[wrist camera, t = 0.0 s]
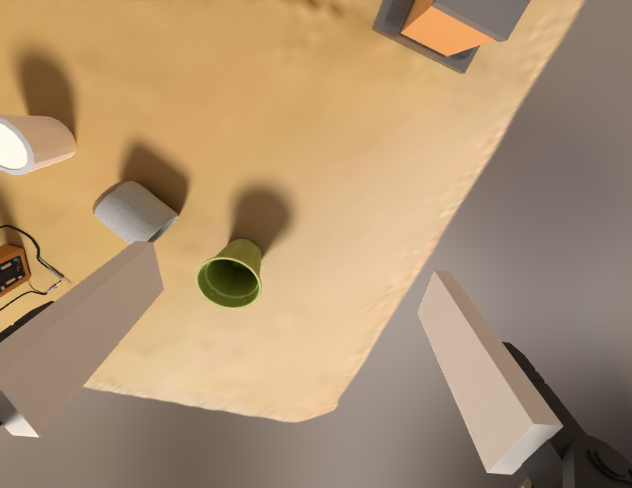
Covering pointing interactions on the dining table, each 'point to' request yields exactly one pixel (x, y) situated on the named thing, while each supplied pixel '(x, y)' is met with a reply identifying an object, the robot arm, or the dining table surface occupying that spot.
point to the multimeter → (17, 268)
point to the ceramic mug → (133, 212)
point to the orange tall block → (461, 22)
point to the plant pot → (232, 275)
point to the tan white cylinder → (33, 143)
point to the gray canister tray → (391, 25)
